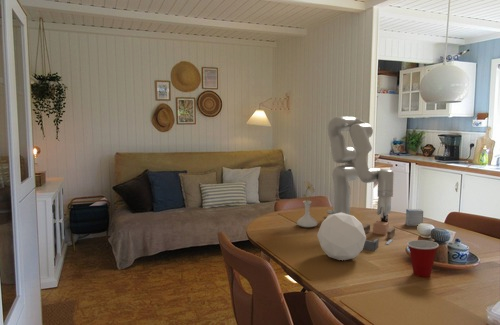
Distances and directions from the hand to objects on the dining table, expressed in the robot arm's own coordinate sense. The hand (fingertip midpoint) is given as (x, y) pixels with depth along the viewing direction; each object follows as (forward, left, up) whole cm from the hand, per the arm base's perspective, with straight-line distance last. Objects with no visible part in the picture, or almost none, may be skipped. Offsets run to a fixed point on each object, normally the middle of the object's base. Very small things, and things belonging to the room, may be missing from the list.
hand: (384, 227), depth 196 cm
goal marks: (0, -19, -1) cm, 19 cm away
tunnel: (0, -10, -1) cm, 10 cm away
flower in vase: (-37, -16, -2) cm, 40 cm away
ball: (-3, -52, -2) cm, 52 cm away
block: (0, -5, -1) cm, 6 cm away
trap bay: (0, -33, -1) cm, 33 cm away
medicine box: (+11, +19, -2) cm, 22 cm away
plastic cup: (+28, -51, -2) cm, 58 cm away
